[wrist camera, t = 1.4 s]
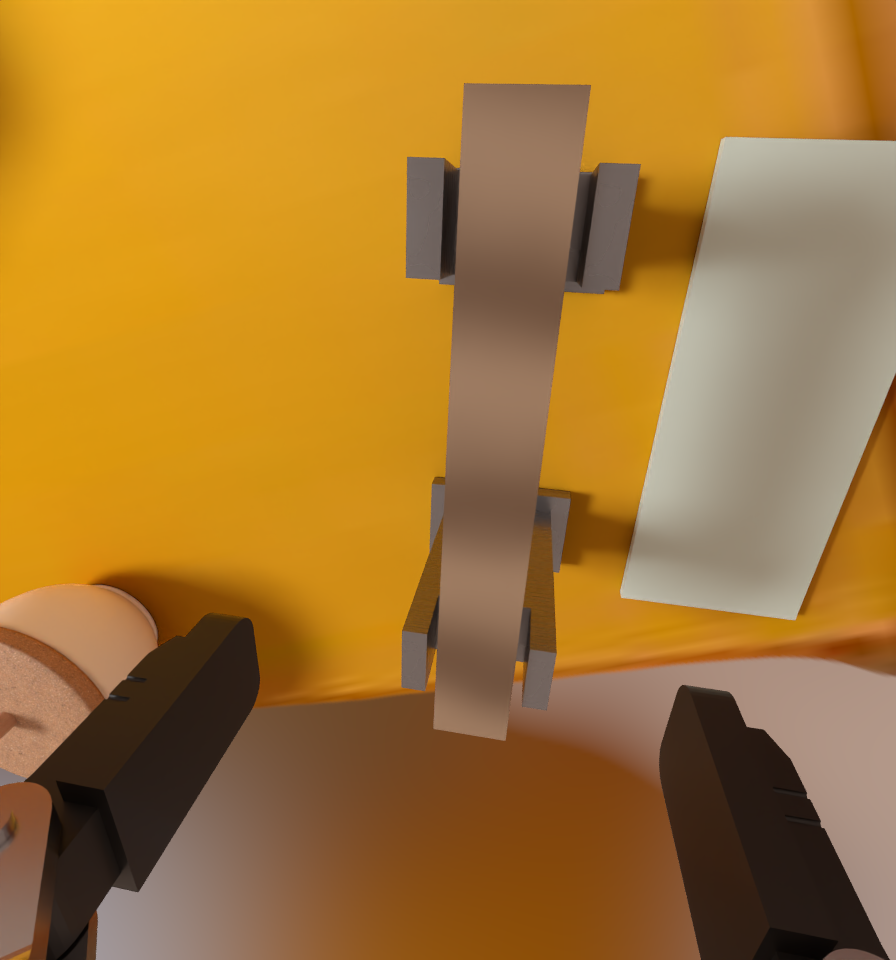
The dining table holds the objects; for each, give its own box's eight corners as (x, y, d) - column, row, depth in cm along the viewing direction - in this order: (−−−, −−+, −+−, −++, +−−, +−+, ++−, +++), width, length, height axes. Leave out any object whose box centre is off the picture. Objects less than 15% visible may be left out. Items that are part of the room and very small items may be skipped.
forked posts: (446, 170, 25) (369, 110, 14) (620, 175, 24) (691, 117, 13) (432, 547, 34) (378, 700, 22) (558, 563, 33) (568, 731, 21)
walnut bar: (477, 110, 15) (464, 83, 13) (581, 113, 15) (590, 85, 12) (445, 675, 25) (433, 728, 22) (509, 685, 24) (505, 740, 22)
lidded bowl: (46, 653, 44) (-98, 772, 34) (35, 531, 39) (-139, 631, 29) (186, 702, 44) (83, 836, 34) (195, 586, 38) (75, 706, 28)
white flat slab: (721, 139, 23) (725, 137, 22) (977, 145, 22) (988, 143, 21) (620, 591, 33) (621, 597, 32) (790, 613, 32) (795, 620, 31)
